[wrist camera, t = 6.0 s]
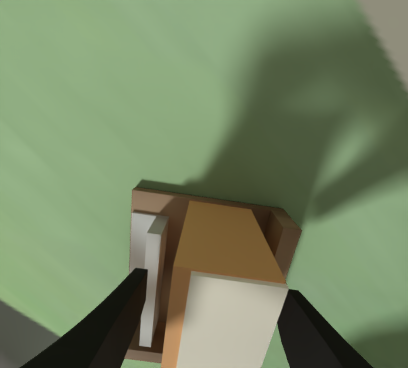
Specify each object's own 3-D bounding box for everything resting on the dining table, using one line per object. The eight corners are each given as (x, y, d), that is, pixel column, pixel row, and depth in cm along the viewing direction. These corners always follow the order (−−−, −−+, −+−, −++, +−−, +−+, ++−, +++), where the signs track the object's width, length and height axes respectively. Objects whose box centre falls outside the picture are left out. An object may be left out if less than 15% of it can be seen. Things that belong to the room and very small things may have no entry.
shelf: (245, 334, 17) (252, 375, 14) (129, 319, 17) (114, 357, 14) (283, 208, 13) (301, 230, 10) (135, 187, 13) (116, 203, 10)
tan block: (234, 282, 14) (251, 394, 8) (179, 275, 14) (158, 383, 8) (251, 209, 13) (289, 286, 7) (189, 200, 12) (172, 270, 7)
